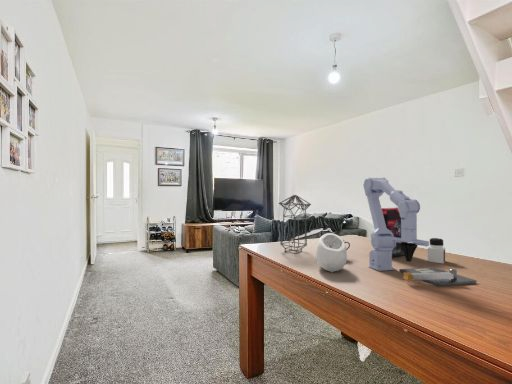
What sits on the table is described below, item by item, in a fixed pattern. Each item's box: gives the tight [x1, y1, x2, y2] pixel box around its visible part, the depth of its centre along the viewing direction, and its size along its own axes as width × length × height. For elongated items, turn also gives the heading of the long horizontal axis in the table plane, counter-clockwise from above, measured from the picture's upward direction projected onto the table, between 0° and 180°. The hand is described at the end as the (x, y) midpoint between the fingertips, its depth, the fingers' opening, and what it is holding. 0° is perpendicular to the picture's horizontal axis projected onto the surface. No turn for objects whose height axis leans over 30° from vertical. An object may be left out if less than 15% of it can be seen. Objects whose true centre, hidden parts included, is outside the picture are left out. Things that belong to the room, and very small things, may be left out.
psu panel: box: [398, 266, 477, 288], centre depth 121 cm, size 18×21×2 cm
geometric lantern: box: [278, 194, 312, 255], centre depth 173 cm, size 16×16×35 cm
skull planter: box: [315, 232, 348, 274], centre depth 135 cm, size 14×20×19 cm
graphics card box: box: [381, 206, 405, 258], centre depth 163 cm, size 17×7×27 cm, turn 119°
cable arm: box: [403, 268, 458, 282], centre depth 112 cm, size 21×3×4 cm, turn 94°
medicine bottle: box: [427, 237, 446, 264], centre depth 149 cm, size 7×7×12 cm
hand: (408, 261), depth 119 cm, fingers closed
